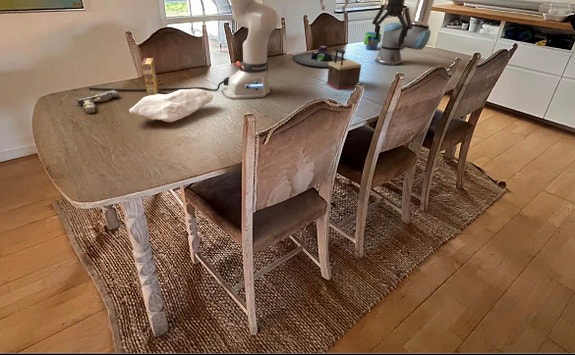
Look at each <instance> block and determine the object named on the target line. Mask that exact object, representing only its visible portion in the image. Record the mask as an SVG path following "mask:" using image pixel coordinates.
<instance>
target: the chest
mask: <svg viewBox="0 0 575 355" xmlns="http://www.w3.org/2000/svg"><path fill="white" fill-rule="evenodd" d="M361 69H362V66H361V67H357V68H350V69H342V70H338V69H336V68H334V67H332V66H330V65H329V67H328V71H327V82H326V84H327V85H329V86H331V87H332V88H334V89H336V90H343V89H348V88H349V89H351V88H354V87H355V85H356V84H357V83H360V76H361Z"/></svg>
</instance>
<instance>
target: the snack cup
mask: <svg viewBox="0 0 575 355" xmlns="http://www.w3.org/2000/svg"><path fill="white" fill-rule="evenodd" d="M375 36H376V32H375V31H374V32H373V31H367V32H365V37H364V40H363V45H365V48H366V49H367V50H377V49H378V45H379V43H381V37H382V34H381V33H380V32H379V38H378V39H377V40H375Z"/></svg>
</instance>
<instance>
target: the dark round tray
mask: <svg viewBox="0 0 575 355" xmlns="http://www.w3.org/2000/svg"><path fill="white" fill-rule="evenodd" d="M327 51H328V46H325V45H320V46H319V48H318V50H317V51H314V50H313V51H312V52H304V53H298V54H295V55H293V56H292V58H291V59H292V60H293V61H294V62H296V63H298V64H301V65H306V66H312V67H317V68H318V67H319V68H321V67H322V68H329V65H328V62H335V54H331V53H329V52H327ZM341 57H342V56H340V55H337V61H341ZM344 60H347V58H345V57H343V61H344Z"/></svg>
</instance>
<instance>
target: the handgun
mask: <svg viewBox="0 0 575 355" xmlns="http://www.w3.org/2000/svg"><path fill="white" fill-rule="evenodd" d="M119 96H120V94H119V91H115V90H107V91H105V92H104V91H103V92H101V93H96V94H94V95H86V94H85V95H84V94H83V95H81V96H80V97H77V98H76V101H77V104H78V105H82V108H83V109H84V110H85V113H87V114H91V113H95V112H96V104H95V103H98V102H106V101H109V100H111V99H113V98H117V97H119Z"/></svg>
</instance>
